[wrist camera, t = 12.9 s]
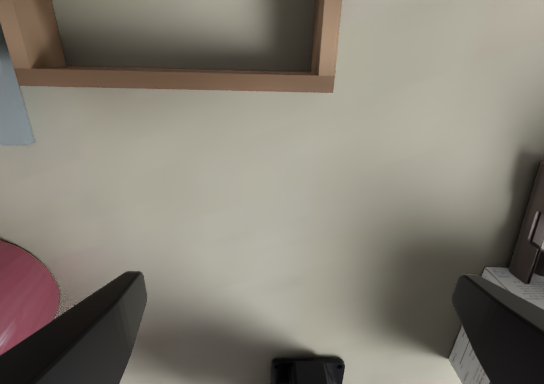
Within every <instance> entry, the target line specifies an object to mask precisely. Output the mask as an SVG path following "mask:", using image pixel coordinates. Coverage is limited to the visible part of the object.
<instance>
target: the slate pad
mask: <svg viewBox="0 0 544 384" xmlns="http://www.w3.org/2000/svg"><path fill="white" fill-rule="evenodd" d="M34 142H35V140H34V137H33V134H32V130H31V127H30V123H29V120H28V116H27V113H26V109H25V106H24V102H23V99H22V96H21V92H20V89H19V85H18V82H17V78H16V75H15V71H14V68H13V65H12V61H11V58H10V54H9V51H8V47H7V44H6V40H5V37H4V33H3V30H2V27H1V23H0V145H29V144H31V143H34Z"/></svg>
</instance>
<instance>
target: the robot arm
mask: <svg viewBox="0 0 544 384" xmlns="http://www.w3.org/2000/svg"><path fill="white" fill-rule="evenodd" d="M146 301H147V292H146V287H145V281H144V276H143V273H142V272H140V271H127V272H125V273H123V274H122V275H120V276H119V277H117V278H116V279H114V280H113V281H111V282H110V283H108V284H107V285H105V286H104V287H102V288H101V289H99V290H98V291H96V292H95V293H93V294H92V295H90V296H89V297H87V298H86V299H84V300H83V301H81V302H80V303H78V304H77V305H75V306H74V307H72V308H71V309H69V310H68V311H66V312H65V313H63V314H62V315H60V316H59V317H57V318H56V319H54V320H53V321H51V322H50V323H48V324H47V325H45V326H44V327H42V328H41V329H39V330H38V331H36V332H35V333H33V334H32V335H30V336H28V337H27V338H25V339H24V340H22V341H21V342H19V343H18V344H16V345H15V346H13V347H12V348H10V349H9V350H7V351H6V352H4V353H3V354H1V355H0V384H119V383H120V380H121V378H122V376H123V373H124V371H125V368H126V366H127V363H128V361H129V358H130V356H131V352H132V349H133V346H134V343H135V339H136V336H137V332H138V329H139V326H140V322H141V319H142V315H143V312H144V309H145V305H146ZM452 302H453V306H454V308H455V310H456V313H457V315H458V317H459V319H460V322H461V324H462V326H463V328H464V331H465V333H466V335H467V337H468V340H469V342H470V344H471V347H472V349H473V351H474V353H475V355H476V357H477V359H478V361H479V363H480V365H481V366H482V368H483V370H484V372H485V374H486V375H487V377H488V379H489V381H490V382H491V384H544V309H542V308H540V307H538V306H536V305H534V304H532V303H530V302H528V301H527V300H525V299H523V298H521V297H519V296H517V295H515V294H513V293H511V292H509V291H508V290H506V289H504V288H502V287H500V286H498V285H496V284H494V283H492V282H490V281H488V280H487V279H485V278H483V277H481V276H479V275H476V274H462V275H460V276H459V277H458V280H457V283H456V286H455V289H454V292H453V295H452ZM344 369H345V365H344V361H343V360H342V359H274V360H272V362H271V384H342V381H343V375H344Z"/></svg>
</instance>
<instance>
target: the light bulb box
mask: <svg viewBox="0 0 544 384" xmlns="http://www.w3.org/2000/svg"><path fill="white" fill-rule="evenodd" d="M481 277H483V278H485V279H487V280H488V281H490V282H492V283H494V284H496V285H498V286H500V287H502V288H504V289H506V290H508V291H509V292H511V293H513V294H515V295H517V296H519V297H521V298H523V299H525V300H527V301H528V302H530V303H532V304H534V305H536V306H538V307H540V308H542V309H544V277H543V276H539V275H536V274H534V273H533V276H532V279H531V282H530V284H524V283H523V282H522V281H520V280H519V279H518V278H516V277H515V276H514V275H512V274H511V273H510V271H509V268H501V267H485V268H484V271H483V274H482V276H481ZM449 362H450V363H451V365H452V367H453V368H454V370H455V372H456V373H457V375H458V377H459V379H460V380H461V382H462V384H491V382H490V381H489V379H488V377H487V375H486V374H485V372H484V370H483V368H482V366H481V365H480V363H479V361H478V359H477V357H476V355H475V353H474V351H473V349H472V347H471V344H470V342H469V340H468V337H467V335H466V333H465V331H464V328H463V326H462V327H461V330H460V332H459V335H458V337H457V340H456V342H455V345H454V347H453V350H452V353H451V355H450V357H449Z"/></svg>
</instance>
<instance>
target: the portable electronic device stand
mask: <svg viewBox="0 0 544 384" xmlns="http://www.w3.org/2000/svg"><path fill="white" fill-rule="evenodd" d="M543 240H544V160H543V161H541V163H540V166H539V170H538V173H537V174H536V180H535V183H534V186H533V190H532V193H531V196H530V200H529V203H528V206H527V210H526V213H525V216H524V220H523V223H522V226H521V230H520V233H519V236H518V240H517V243H516V246H515V250H514V252H513V254H512V260H511V263H510V266H509V271H510V273H511V274H512V275H514V276H515V277H516V278H518V279H519V280H520V281H522V282H523V283H524V284H530V282H531V279H532V276H533V273H534V274H536V275H539V276H543V277H544V250H543V249H542V248H541V246H542V243H543Z"/></svg>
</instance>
